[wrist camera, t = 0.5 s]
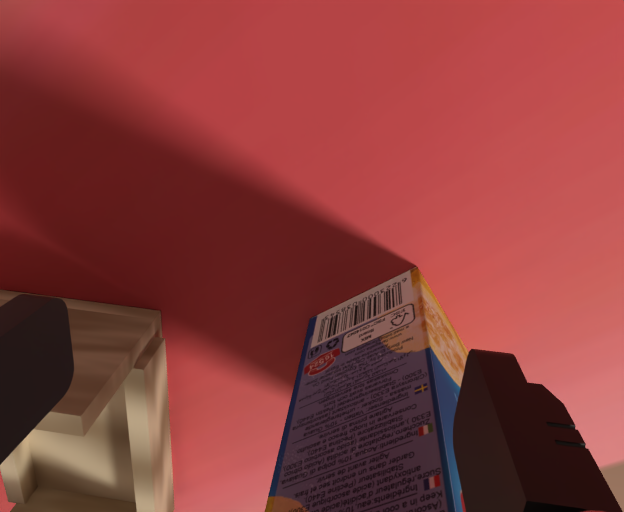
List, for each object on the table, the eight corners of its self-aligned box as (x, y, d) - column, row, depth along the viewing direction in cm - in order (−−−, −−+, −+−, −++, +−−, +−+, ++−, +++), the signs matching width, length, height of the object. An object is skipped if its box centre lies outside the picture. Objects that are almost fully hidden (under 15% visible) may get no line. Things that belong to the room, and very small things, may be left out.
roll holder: (-10, 288, 31) (-148, 381, 23) (170, 312, 30) (93, 418, 22) (33, 484, 38) (-61, 609, 30) (180, 508, 37) (124, 643, 29)
